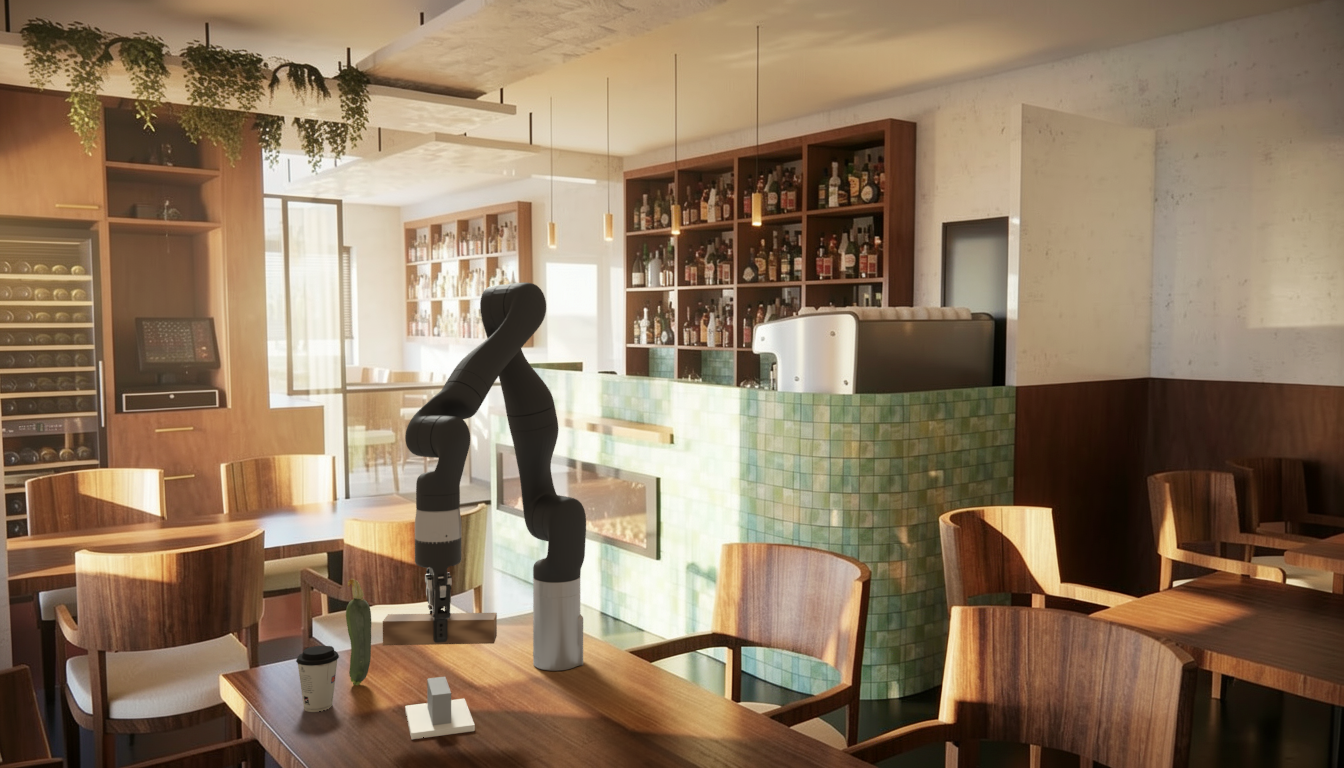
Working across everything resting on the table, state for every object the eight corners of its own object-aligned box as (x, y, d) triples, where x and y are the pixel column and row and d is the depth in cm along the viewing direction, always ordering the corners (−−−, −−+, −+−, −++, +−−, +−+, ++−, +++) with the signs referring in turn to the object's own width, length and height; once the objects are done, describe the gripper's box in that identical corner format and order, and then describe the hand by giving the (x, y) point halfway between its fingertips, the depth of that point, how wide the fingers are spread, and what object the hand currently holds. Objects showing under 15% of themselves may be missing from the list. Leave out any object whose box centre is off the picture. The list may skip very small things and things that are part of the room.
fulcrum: (464, 704, 166) (464, 670, 165) (474, 730, 155) (474, 694, 154) (405, 711, 162) (405, 676, 162) (411, 739, 151) (411, 702, 151)
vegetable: (375, 682, 176) (374, 575, 175) (365, 690, 172) (364, 581, 171) (352, 681, 176) (351, 574, 175) (342, 689, 172) (341, 580, 171)
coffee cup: (298, 717, 159) (298, 659, 159) (294, 703, 166) (293, 647, 165) (342, 710, 163) (341, 653, 162) (336, 696, 169) (335, 641, 168)
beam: (496, 635, 160) (496, 612, 160) (494, 643, 156) (493, 619, 156) (388, 637, 159) (388, 614, 159) (382, 645, 155) (382, 621, 155)
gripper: (467, 542, 152) (467, 647, 152) (455, 525, 165) (455, 622, 166) (418, 545, 149) (419, 652, 150) (411, 528, 162) (411, 626, 163)
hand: (438, 636), depth 158 cm, fingers closed on beam, 4 cm apart
